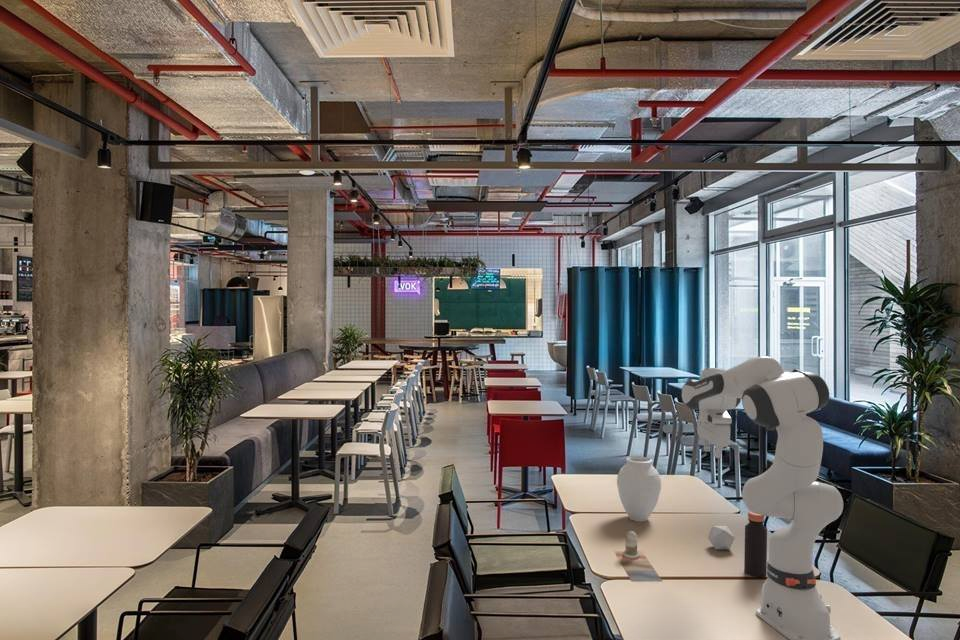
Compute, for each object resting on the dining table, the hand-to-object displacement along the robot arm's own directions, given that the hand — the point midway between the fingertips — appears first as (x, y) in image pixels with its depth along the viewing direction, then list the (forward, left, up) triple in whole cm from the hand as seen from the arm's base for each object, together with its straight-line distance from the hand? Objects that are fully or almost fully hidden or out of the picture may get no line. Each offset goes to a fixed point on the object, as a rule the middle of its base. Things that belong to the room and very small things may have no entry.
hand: (712, 454), depth 214 cm
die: (+11, -8, -37) cm, 40 cm away
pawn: (+3, +27, -37) cm, 46 cm away
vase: (+42, +14, -37) cm, 58 cm away
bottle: (-10, -11, -37) cm, 40 cm away
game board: (-5, +27, -37) cm, 46 cm away
